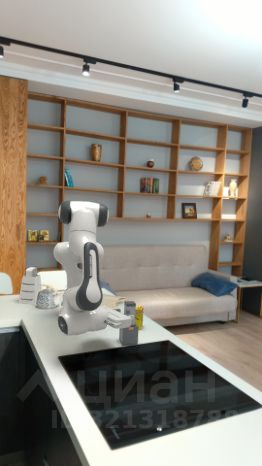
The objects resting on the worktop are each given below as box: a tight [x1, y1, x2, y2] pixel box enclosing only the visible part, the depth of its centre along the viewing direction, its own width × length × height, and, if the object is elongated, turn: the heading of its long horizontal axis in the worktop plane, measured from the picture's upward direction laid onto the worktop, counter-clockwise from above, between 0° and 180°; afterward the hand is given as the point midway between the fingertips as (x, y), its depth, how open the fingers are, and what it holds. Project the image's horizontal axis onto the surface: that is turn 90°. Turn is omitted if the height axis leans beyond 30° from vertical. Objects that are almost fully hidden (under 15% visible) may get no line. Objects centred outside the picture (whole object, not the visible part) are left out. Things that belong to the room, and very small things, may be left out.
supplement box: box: [135, 305, 145, 331], centre depth 169 cm, size 6×6×11 cm
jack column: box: [123, 300, 137, 326], centre depth 149 cm, size 4×4×17 cm
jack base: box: [118, 323, 140, 347], centre depth 149 cm, size 12×14×9 cm
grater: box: [18, 266, 43, 306], centre depth 206 cm, size 10×10×20 cm
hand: (126, 313), depth 148 cm, fingers open, 8 cm apart
